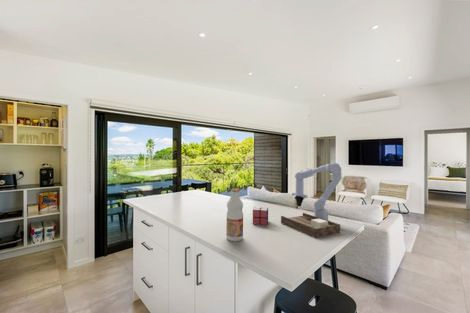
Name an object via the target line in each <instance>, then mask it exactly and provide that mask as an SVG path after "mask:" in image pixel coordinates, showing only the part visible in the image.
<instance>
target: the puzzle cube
mask: <svg viewBox="0 0 470 313" xmlns="http://www.w3.org/2000/svg"><path fill="white" fill-rule="evenodd" d="M268 223H269V207H265V206H264V207H263V206H262V207H261V206H254V207H253V209H252V225H257V224H258V225H259V226H268Z"/></svg>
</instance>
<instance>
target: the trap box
mask: <svg viewBox="0 0 470 313" xmlns="http://www.w3.org/2000/svg"><path fill="white" fill-rule="evenodd" d="M313 219H321V218H318V217H315V216H314V215H311V214H308V213H305V212H302V215H299V216H291V217H287V216H284V215H280V224H282V225H284V226H287V227H289V228H291V229H294V230H296V231H297V232H301V233H303V234H306V235H308V236H309V237H312V238H315V239H316V238H320V237H321V238H322V237H325V236H326V237H327V236H330V235H331V236H332V235H335V234H340V233H341V223H340V224H339V223H337V222H334V221H331V220H329V219H328V220H325V221H328V226H326V227H321V228H315V227H312V226H311V220H313ZM322 220H324V219H322Z"/></svg>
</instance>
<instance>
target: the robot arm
mask: <svg viewBox="0 0 470 313" xmlns="http://www.w3.org/2000/svg"><path fill="white" fill-rule="evenodd" d="M324 171H328V172H329V171H330V173H331V174H332V177H333V178H332V180H331V181H330V183H329V184H328V186H327V187H326V188H325V190H324V192H323V193H321V196H320V197H319V199H317V200H316V201H315V202H314V204H313V207H314V208H313V209H314V210H313V216H315V217H318V218H321V219H324V220H328V221H329V211H328V209H326V208H325V206H326V203H327V200H328V199H329V197H330V196H331V195H332V193H333V192H334V190H335V188H336V187H337V186H338V185H339V183H340V181H341V180H342V168H341V166H340V164H339V163H337V162H333V163H329V164H324V165H322V166H318V167H316V168H310V167H309V168H306V169H305V170H300V172H297V173H295V175H294V178H295V192H291V196H294V199H295V201H296V205H297V207H301V206H302V203H303V202H304V199H308V195H306V194H304V192H305V191H304V187H305V186H304V184H305V182H304V179H308V178H310V177H313V176H314V175H315V174H317V173H320V172H324Z"/></svg>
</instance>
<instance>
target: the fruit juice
mask: <svg viewBox="0 0 470 313" xmlns="http://www.w3.org/2000/svg"><path fill="white" fill-rule="evenodd" d="M230 192H231V193H230V194H231V195H230V198H229V199H228V200H227V204H226V209H227V211H226V233H225V234H226V236H225V237H226V239H227V240H228V241H231V242H239V241H242V240H243V237H244V212H243V208H244V203H243V201H242V199H241V197H240V188H231V189H230Z"/></svg>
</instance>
